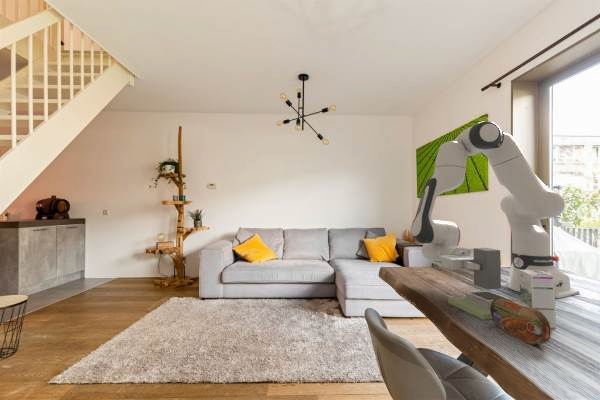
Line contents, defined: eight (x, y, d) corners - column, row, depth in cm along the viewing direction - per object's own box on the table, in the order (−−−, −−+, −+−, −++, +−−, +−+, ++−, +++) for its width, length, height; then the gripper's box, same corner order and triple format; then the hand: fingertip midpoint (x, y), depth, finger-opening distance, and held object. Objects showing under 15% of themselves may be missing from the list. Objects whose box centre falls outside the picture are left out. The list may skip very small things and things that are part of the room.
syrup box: (557, 328, 72) (555, 274, 72) (532, 326, 73) (530, 273, 74) (542, 319, 78) (541, 269, 78) (519, 318, 79) (518, 268, 79)
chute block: (487, 284, 88) (486, 247, 89) (500, 288, 84) (500, 250, 84) (474, 284, 88) (473, 248, 88) (487, 289, 83) (486, 250, 83)
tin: (489, 323, 76) (488, 293, 76) (499, 322, 76) (499, 293, 76) (541, 352, 61) (540, 314, 61) (554, 351, 61) (553, 314, 61)
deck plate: (488, 299, 95) (487, 286, 95) (528, 315, 81) (527, 300, 81) (448, 302, 92) (448, 289, 92) (483, 319, 78) (482, 304, 78)
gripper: (431, 250, 97) (460, 258, 83) (479, 249, 100) (515, 255, 87) (431, 268, 96) (460, 278, 83) (480, 265, 100) (515, 275, 87)
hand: (489, 266), depth 85 cm, fingers closed on chute block, 5 cm apart
